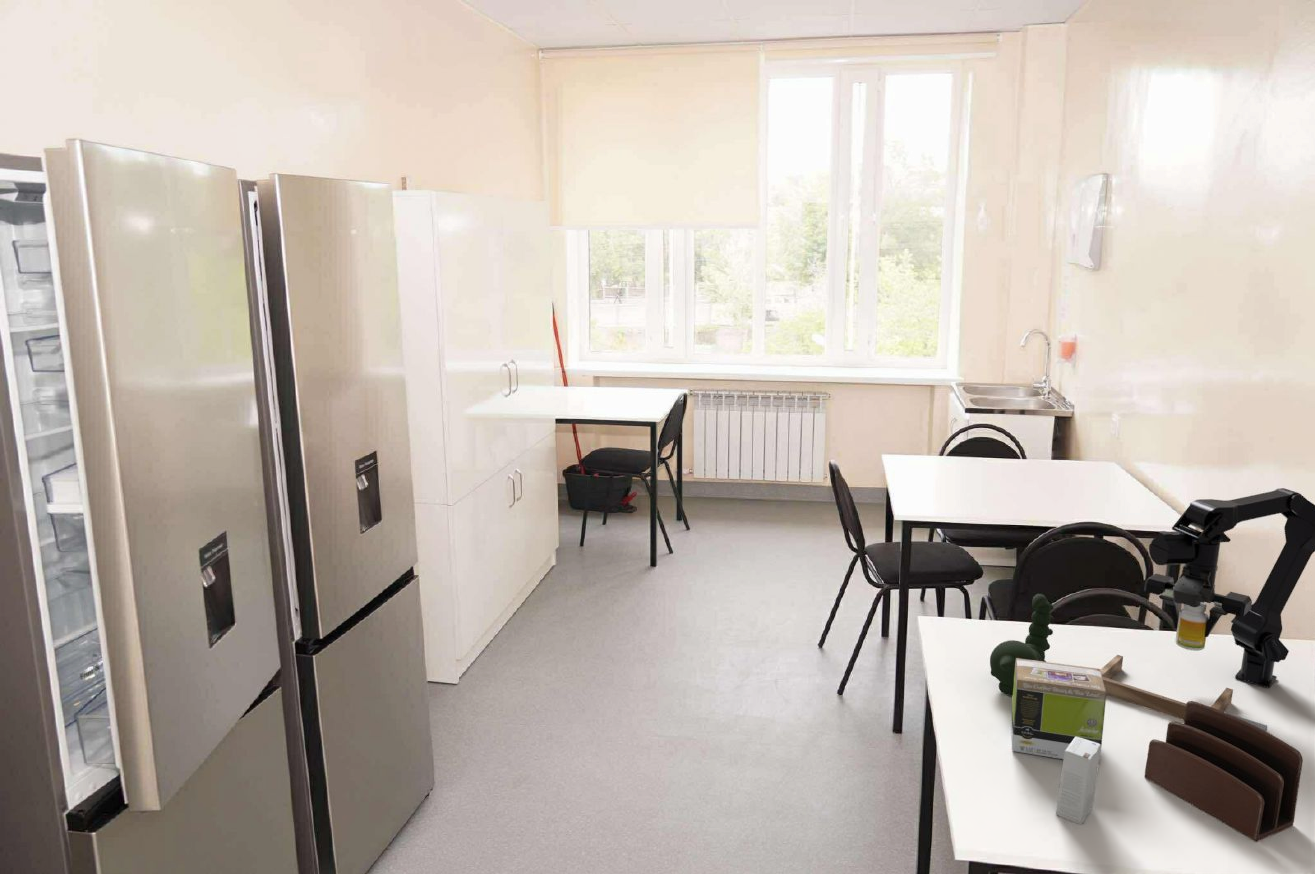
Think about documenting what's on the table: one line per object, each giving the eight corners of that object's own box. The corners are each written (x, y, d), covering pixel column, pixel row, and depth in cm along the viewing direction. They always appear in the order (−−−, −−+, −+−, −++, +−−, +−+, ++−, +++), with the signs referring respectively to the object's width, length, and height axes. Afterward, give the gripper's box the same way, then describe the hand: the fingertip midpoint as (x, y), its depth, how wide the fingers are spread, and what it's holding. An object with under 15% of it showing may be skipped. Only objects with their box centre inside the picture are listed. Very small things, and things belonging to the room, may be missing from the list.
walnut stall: (1115, 667, 205) (1117, 654, 204) (1231, 702, 189) (1233, 689, 189) (1091, 689, 195) (1092, 676, 194) (1210, 728, 179) (1212, 714, 179)
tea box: (1093, 739, 175) (1102, 667, 172) (1099, 767, 166) (1108, 691, 163) (1008, 725, 180) (1015, 655, 177) (1010, 752, 171) (1017, 678, 168)
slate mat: (1225, 717, 184) (1226, 712, 183) (1266, 730, 179) (1267, 725, 179) (1211, 735, 177) (1211, 731, 176) (1253, 750, 172) (1254, 745, 172)
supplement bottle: (1208, 652, 192) (1214, 608, 190) (1179, 649, 193) (1185, 606, 191) (1199, 641, 197) (1205, 598, 195) (1171, 639, 198) (1177, 596, 196)
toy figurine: (1015, 664, 209) (974, 696, 190) (1025, 584, 206) (984, 608, 187) (1059, 677, 203) (1020, 711, 184) (1070, 594, 200) (1032, 620, 181)
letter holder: (1180, 764, 167) (1190, 693, 164) (1294, 826, 150) (1308, 747, 147) (1142, 778, 163) (1152, 704, 160) (1256, 843, 146) (1269, 762, 143)
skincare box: (1066, 798, 157) (1073, 733, 154) (1094, 809, 154) (1102, 743, 151) (1054, 815, 152) (1061, 748, 150) (1083, 826, 149) (1091, 759, 147)
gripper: (1138, 559, 192) (1130, 629, 195) (1241, 584, 179) (1230, 658, 182) (1157, 547, 199) (1149, 615, 203) (1257, 569, 186) (1246, 641, 190)
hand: (1191, 632), depth 194 cm, fingers closed on supplement bottle, 5 cm apart
